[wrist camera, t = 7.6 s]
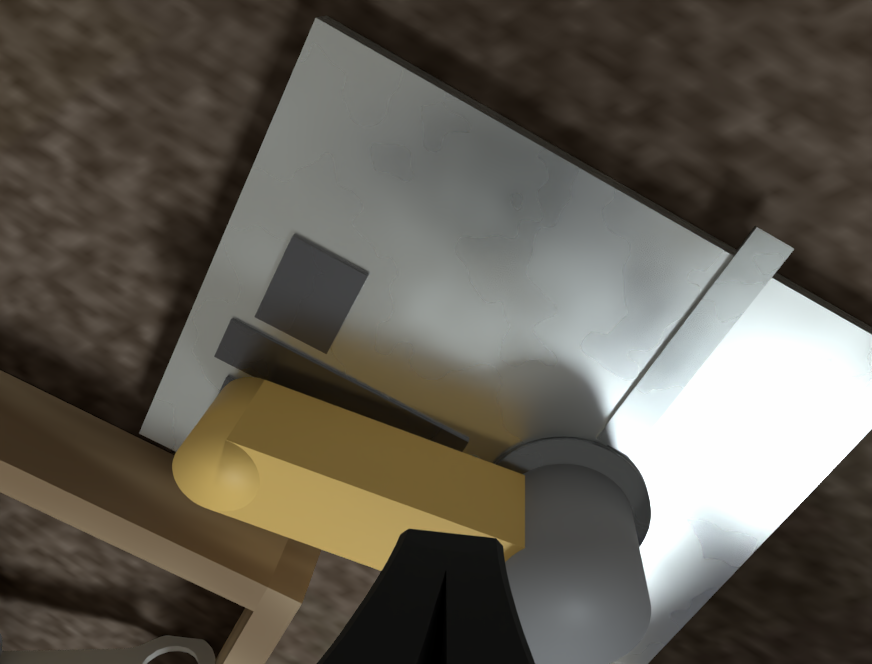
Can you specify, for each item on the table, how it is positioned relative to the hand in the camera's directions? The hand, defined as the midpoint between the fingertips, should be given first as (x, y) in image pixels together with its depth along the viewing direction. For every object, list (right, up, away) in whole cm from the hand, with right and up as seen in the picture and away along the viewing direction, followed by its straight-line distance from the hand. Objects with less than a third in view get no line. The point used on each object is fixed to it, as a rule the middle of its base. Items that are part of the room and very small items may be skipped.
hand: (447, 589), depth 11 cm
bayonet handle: (0, 0, +9) cm, 9 cm away
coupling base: (+2, +2, +10) cm, 10 cm away
